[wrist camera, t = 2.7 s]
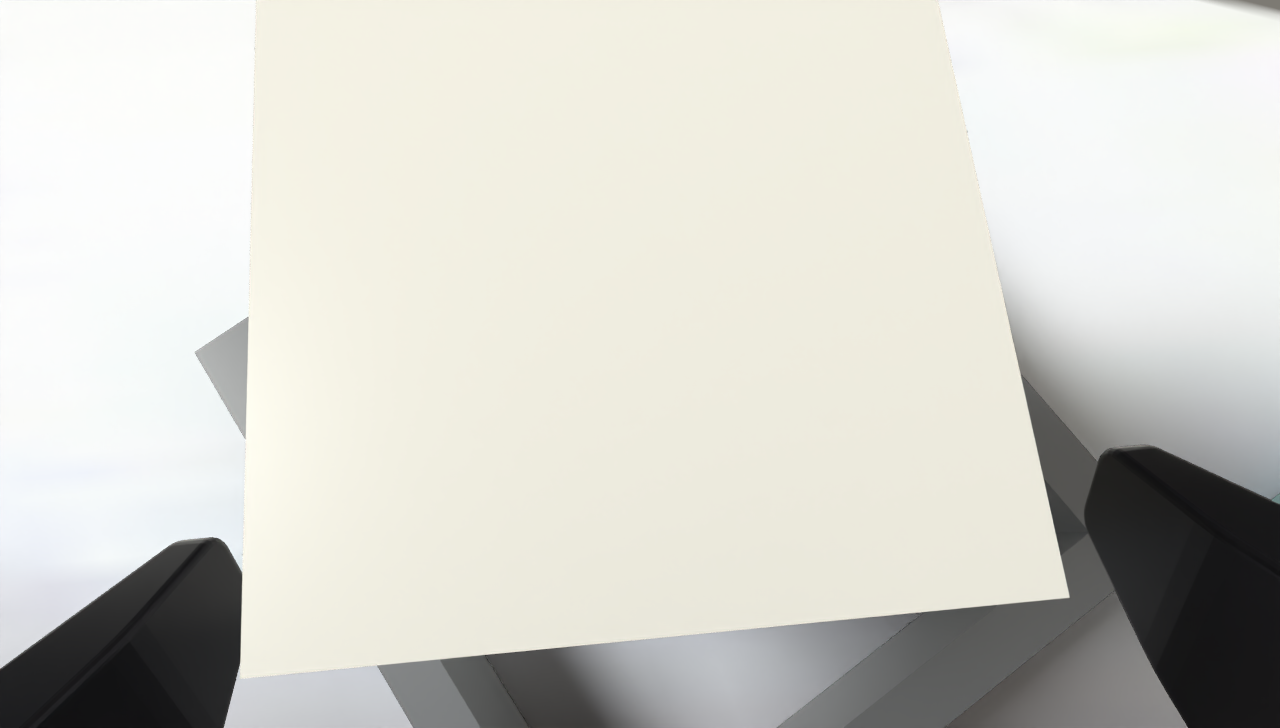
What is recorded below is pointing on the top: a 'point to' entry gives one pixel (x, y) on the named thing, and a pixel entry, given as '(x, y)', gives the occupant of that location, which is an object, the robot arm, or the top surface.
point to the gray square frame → (875, 688)
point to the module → (619, 330)
